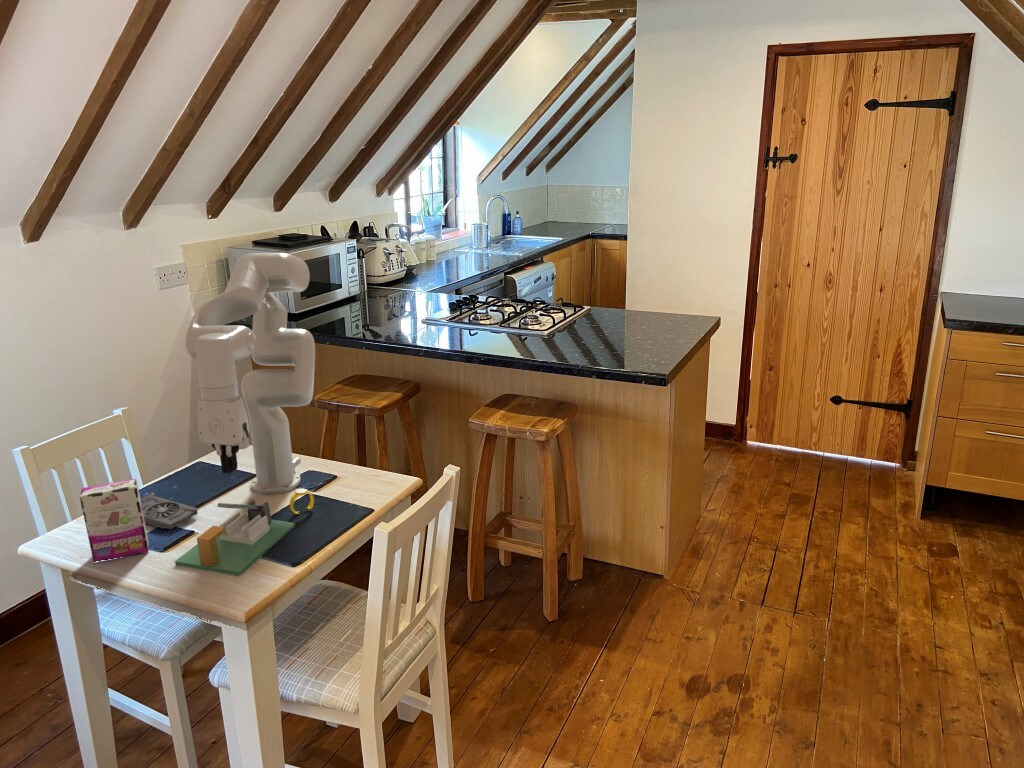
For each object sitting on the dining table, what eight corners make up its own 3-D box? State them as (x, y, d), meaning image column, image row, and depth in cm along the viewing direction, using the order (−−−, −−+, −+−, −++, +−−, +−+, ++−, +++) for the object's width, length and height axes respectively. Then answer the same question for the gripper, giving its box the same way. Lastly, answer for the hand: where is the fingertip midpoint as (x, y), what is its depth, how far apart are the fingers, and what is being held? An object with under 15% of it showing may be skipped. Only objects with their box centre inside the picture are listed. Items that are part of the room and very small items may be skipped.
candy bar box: (149, 542, 177) (137, 477, 172) (149, 553, 173) (137, 486, 168) (94, 553, 173) (80, 486, 168) (92, 564, 169) (78, 496, 164)
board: (236, 518, 188) (233, 494, 186) (295, 526, 184) (292, 503, 182) (175, 565, 168) (171, 539, 166) (239, 576, 164) (236, 550, 162)
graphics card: (110, 512, 185) (151, 490, 195) (113, 526, 186) (154, 504, 196) (160, 528, 178) (201, 504, 188) (163, 542, 179) (203, 518, 190)
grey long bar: (254, 508, 183) (255, 504, 184) (263, 509, 183) (264, 505, 183) (217, 507, 170) (218, 502, 170) (226, 508, 169) (227, 503, 169)
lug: (217, 551, 171) (213, 525, 169) (228, 553, 171) (225, 527, 168) (200, 564, 166) (196, 538, 164) (212, 566, 165) (208, 539, 163)
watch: (310, 507, 194) (310, 485, 192) (316, 511, 192) (315, 489, 190) (288, 514, 190) (287, 491, 188) (293, 518, 188) (293, 495, 186)
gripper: (178, 394, 164) (190, 474, 169) (240, 400, 160) (249, 481, 165) (201, 383, 171) (211, 460, 176) (261, 389, 167) (269, 467, 172)
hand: (230, 470), depth 171 cm, fingers closed
